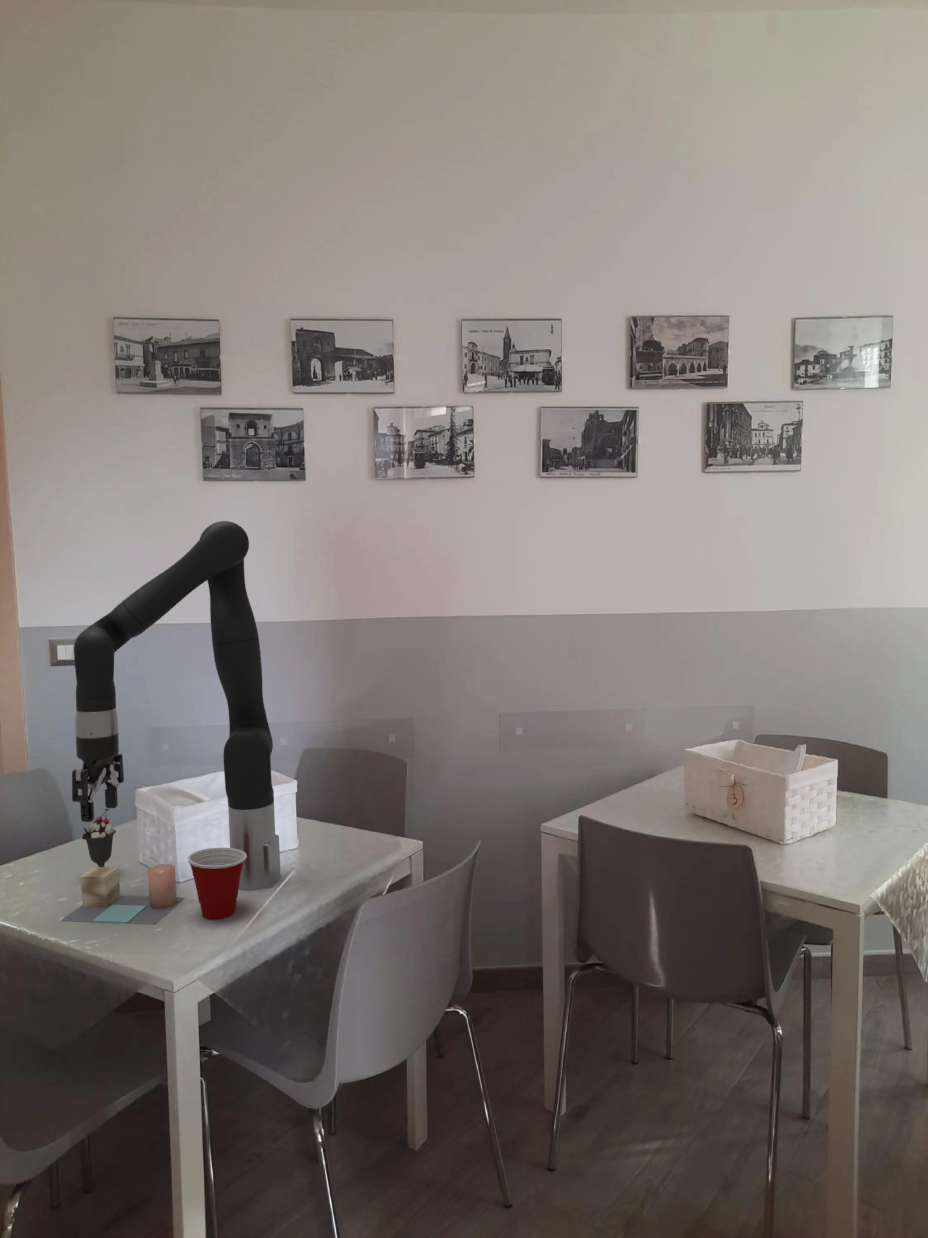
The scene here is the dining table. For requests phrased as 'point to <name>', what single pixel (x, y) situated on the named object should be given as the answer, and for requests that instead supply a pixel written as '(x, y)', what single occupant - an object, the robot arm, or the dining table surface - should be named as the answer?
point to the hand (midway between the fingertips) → (100, 814)
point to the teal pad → (119, 914)
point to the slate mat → (144, 917)
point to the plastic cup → (217, 880)
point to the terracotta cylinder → (162, 886)
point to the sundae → (99, 840)
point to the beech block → (100, 886)
